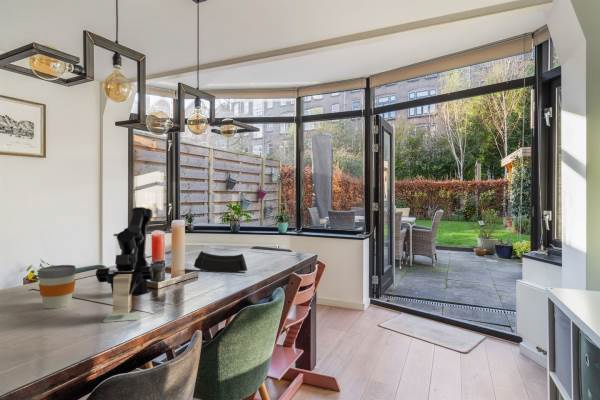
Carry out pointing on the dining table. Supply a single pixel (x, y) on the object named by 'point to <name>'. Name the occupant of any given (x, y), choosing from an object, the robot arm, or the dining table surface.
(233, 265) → the magazine
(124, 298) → the maple block
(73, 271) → the reusable coffee cup
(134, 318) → the mat
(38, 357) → the dining table surface
